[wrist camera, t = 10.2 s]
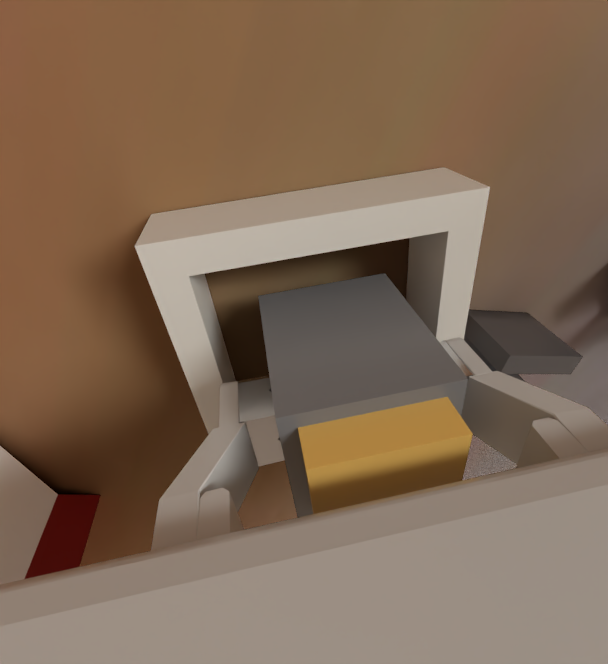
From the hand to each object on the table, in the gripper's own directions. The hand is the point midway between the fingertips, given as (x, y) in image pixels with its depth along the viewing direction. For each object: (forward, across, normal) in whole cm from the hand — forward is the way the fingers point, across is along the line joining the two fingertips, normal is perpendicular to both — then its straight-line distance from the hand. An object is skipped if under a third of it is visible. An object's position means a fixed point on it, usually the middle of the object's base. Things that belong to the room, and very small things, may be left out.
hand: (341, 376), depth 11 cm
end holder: (+4, 0, 0) cm, 4 cm away
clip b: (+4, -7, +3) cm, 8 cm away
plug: (+2, 0, 0) cm, 2 cm away
